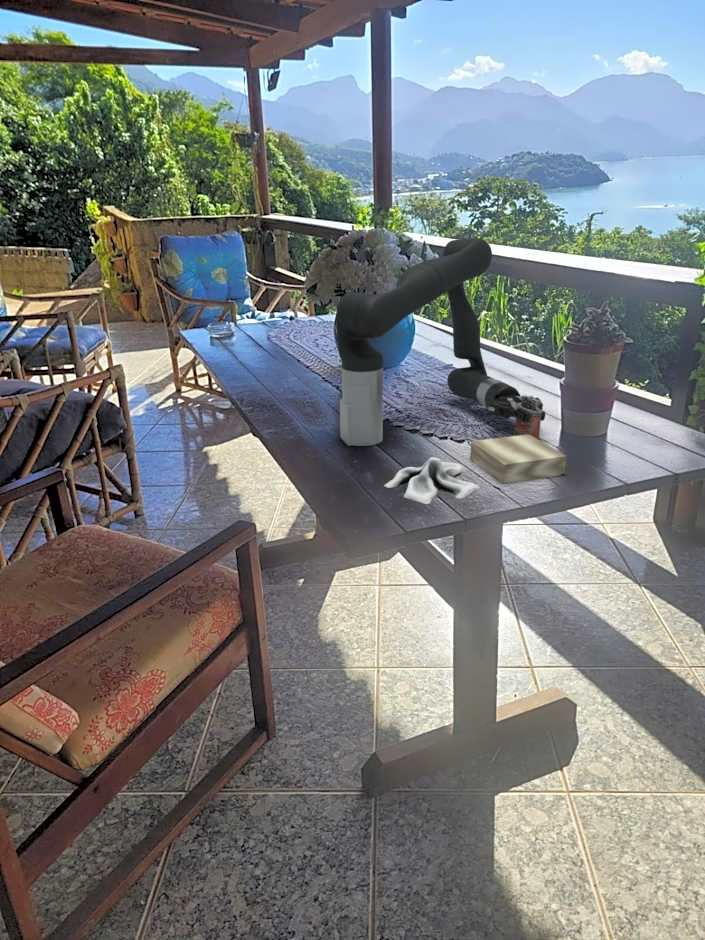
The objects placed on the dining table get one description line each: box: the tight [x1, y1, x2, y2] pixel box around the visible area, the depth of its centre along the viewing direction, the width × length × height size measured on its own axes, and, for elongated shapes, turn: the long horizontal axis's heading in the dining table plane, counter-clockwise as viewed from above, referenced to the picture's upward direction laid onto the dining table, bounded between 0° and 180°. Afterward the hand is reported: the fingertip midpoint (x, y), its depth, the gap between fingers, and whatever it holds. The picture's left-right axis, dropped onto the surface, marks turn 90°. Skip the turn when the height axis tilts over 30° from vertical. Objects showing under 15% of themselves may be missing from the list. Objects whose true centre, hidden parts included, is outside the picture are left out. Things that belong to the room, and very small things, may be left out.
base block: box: [469, 434, 567, 484], centre depth 138 cm, size 14×14×4 cm
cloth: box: [383, 457, 480, 505], centre depth 130 cm, size 22×19×6 cm
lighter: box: [512, 394, 544, 440], centre depth 152 cm, size 8×3×10 cm, turn 21°
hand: (535, 417), depth 149 cm, fingers closed on lighter, 3 cm apart
